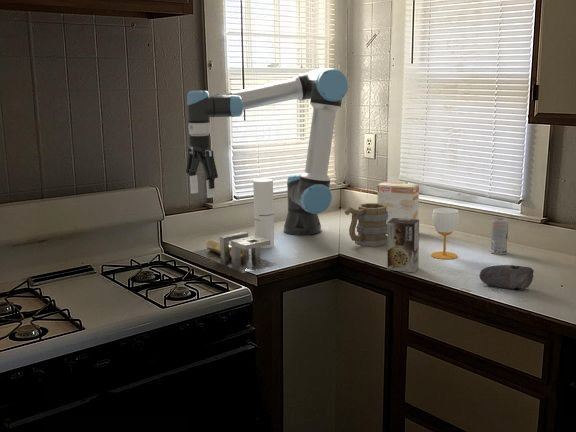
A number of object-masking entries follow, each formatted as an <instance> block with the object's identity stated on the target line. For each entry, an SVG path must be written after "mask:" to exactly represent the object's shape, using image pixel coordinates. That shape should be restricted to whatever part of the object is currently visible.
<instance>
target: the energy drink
mask: <svg viewBox="0 0 576 432" xmlns="http://www.w3.org/2000/svg"><path fill="white" fill-rule="evenodd" d="M508 232H509V220H508V219H507V218H504V217H495V218H492V221H491V234H490V235H491V236H490V253H491V254H493V255H497V256H498V255H499V256H502V255H506V254H507V250H508V249H507V248H508Z"/></svg>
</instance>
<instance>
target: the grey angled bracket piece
mask: <svg viewBox="0 0 576 432" xmlns="http://www.w3.org/2000/svg"><path fill="white" fill-rule="evenodd" d="M246 237H249V232H246V231H240V232H236V233H232V234H225V235H221V236H219V242H220V254H221V261H223V262H227V261H229V246H230V244H229V242H231V240H236V239H241V238H246ZM240 250H243V251H245V252H246V257H249V254H250V252H249V251H250V249H247V250H244V249H241V248H240Z"/></svg>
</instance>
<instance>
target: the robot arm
mask: <svg viewBox="0 0 576 432" xmlns="http://www.w3.org/2000/svg"><path fill="white" fill-rule="evenodd" d="M348 87H349V82H348V79H347V76H346V75H345V74H344V72H342V71H341V70H339V69H336V68H333V67H331V68H329V67H325V68H317V69H314V70H311V71H307V72H305V73H302V74H298V75H294V77H293V78H291V79H287V80H283V81H277V82H274V83H267V84H263V85H259V86H254V87H249V88H244V89H239V90H233V91H231V92H225V93H221V94H220V93H217V94H214V95H210V94H209V91H208V90H190V91H188V93H187V97H186V99H187V100H186V101H187V103H186V105H187V106H186V107H187V122H188V127H187V128H188V134H189V136H188V141H189V146H190V147H188V148H187V152H188V153H187V154H188V155H187V161H186V170H185V173H186V174H188V176H189V181H190V183H189V186H190V187H189V188H190V194H199V183H198V168H199V166H200V164H201V165H202V166H203V170H204V173H205V175H206V199H207V198H208V199H210V198H216V195H215V194H216V191H215V187H216V186H215V180H216V179H217V178H219V176H218V170H217V167H216V162H215V158H214V157H215V156H214V150H212V149H211V150H209V147H210V146H211V143H212V142H211V136H210V134H211V125H210V118H229V117H230V118H231V117H232V118H234V117H240V116H242V115H243V111H245V110H250V109H254V108H258V107H259V108H260V107H264V106H268V105H273V104H277V103H283V102H287V101H291V100H296V99H297V100H298V101H304V100H310V102H309V103H310V104H309V105H311V106H312V108H313V110H312V115H311V116H312V117H311V124H310V132H309V140H308V148H307V155H306V160H305V161H306V162H305V167H304V172H303V173H301V174H296V175H295V174H294V175H289V176H288V177H287V179H286V180H287V182H286V186H287V187H286V188H287V189H286V190H287V213H286V218H285V222H284V224H283V233H286V234H290V235H295V236H298V235H299V236H300V235H301V236H305V235H314V234H318V233H320V232H321V231H322V224H321V221H320V217H319V214H322V213H324V212H325V211H327V210H328V209H329V208H330V206H331V204H332V201H333V194H332V192H331V189H330V187H331V178H330V177H329V175H328V173H329V166H330V165H329V164H330V159H331V158H330V157H331V152H332V143H333V142H332V141H333V136H334V129H335V128H334V127H335V122H336V114H337V111H338V110H339V109H340V108H342V102H343V98H344V97H345V96H346V95H347V93H348Z"/></svg>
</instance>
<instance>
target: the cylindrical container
mask: <svg viewBox="0 0 576 432" xmlns="http://www.w3.org/2000/svg"><path fill="white" fill-rule="evenodd" d="M252 183H253V184H252V185H253V213H254V214H253V215H254V216H253V218H254V220H253V221H254V222H253V223H254V236H259V237H262V238H265V239H268V240H270V245H266V246H261V247H260V249H269V248H273V247H275V220H274V219H275V218H274V217H275V216H274V215H275V214H274V213H275V211H274V207H275V206H274V179H271V178H256V179H253V180H252Z"/></svg>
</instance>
